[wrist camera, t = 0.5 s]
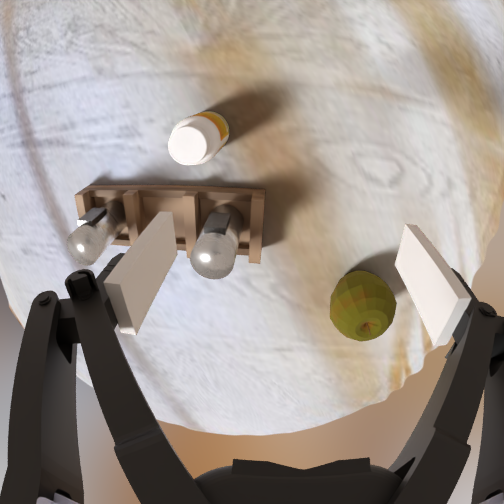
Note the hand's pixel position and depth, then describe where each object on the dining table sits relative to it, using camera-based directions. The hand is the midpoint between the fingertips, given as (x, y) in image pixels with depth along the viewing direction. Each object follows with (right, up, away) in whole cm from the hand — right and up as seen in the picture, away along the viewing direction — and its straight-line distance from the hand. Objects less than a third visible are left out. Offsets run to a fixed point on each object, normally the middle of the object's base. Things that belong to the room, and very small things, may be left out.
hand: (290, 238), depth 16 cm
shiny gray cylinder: (-6, +3, +24) cm, 25 cm away
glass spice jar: (-23, +5, +25) cm, 34 cm away
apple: (+15, -6, +29) cm, 33 cm away
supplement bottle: (-7, +14, +19) cm, 25 cm away
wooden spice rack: (-14, +5, +25) cm, 29 cm away
